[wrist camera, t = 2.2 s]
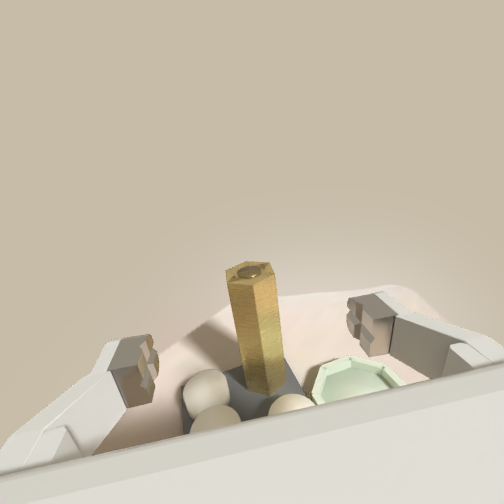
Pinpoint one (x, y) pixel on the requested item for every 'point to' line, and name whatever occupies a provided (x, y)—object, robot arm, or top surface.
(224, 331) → the top surface
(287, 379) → the mat
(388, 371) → the dish
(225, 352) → the top surface
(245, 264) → the coupling nut
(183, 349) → the top surface
